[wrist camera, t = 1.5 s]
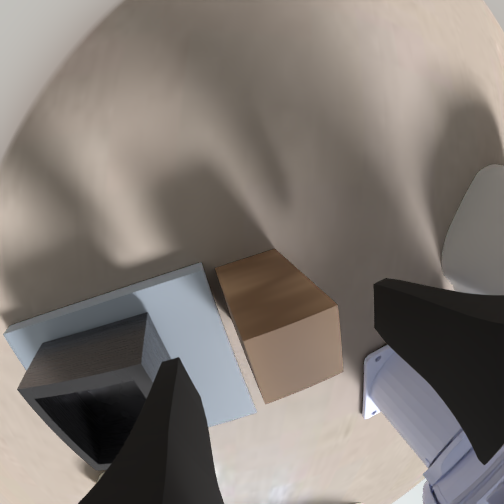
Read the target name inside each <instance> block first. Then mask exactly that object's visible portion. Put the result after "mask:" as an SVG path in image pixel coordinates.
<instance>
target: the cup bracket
mask: <svg viewBox="0 0 504 504" xmlns="http://www.w3.org/2000/svg"><path fill="white" fill-rule="evenodd" d="M170 359H171V357H170V356H169V354H168V352H167V350H166V348H165V346H164V344H163V342H162V340H161V338H160V336H159V334H158V332H157V330H156V328H155V326H154V324H153V322H152V319H151V317H150V315H149V313H148V312H146V313H142V314H139V315H136V316H132V317H129V318H126V319H123V320H119V321H116V322H113V323H109V324H106V325H103V326H99V327H96V328H92V329H89V330H86V331H82V332H79V333H75V334H72V335H68V336H65V337H61V338H58V339H54V340H51V341H47V342H43V343H42V344H41V346H40V348H39V349H38V351H37V353H36V355H35V357H34V358H33V360H32V362H31V364H30V366H29V367H28V369H27V371H26V373H25V375H24V377H23V379H22V381H21V383H20V385H19V387H18V389H17V390H18V391H19V392H20V394H21V395H22V396H23V397H24V399H25V400H26V401H27V402H28V404H29V405H30V406H31V407H32V408H33V410H34V411H35V412H36V413H37V414H38V415H39V416H40V417H41V419H42V420H43V421H44V422H45V423H46V424H47V425H48V426H49V427H50V428H51V429H52V430H53V431H54V432H55V433H56V434H57V435H58V436H59V437H60V438H61V439H62V440H63V441H64V442H65V443H66V444H67V445H68V446H69V447H70V448H71V449H72V450H73V451H74V452H75V453H76V454H78V455H79V456H80V457H81V458H82V459H83V460H84V461H86V462H87V463H88V464H89V465H90V466H91V467H93V468H94V469H95V470H107V469H108V467H109V466H110V465H111V464H112V462H113V461H114V459H115V458H116V456H117V455H118V453H119V451H120V450H121V448H122V447H123V445H124V443H125V441H126V440H127V438H128V436H129V434H130V432H131V430H132V428H133V426H134V424H135V422H136V420H137V418H138V416H139V414H140V412H141V410H142V408H143V405H144V403H145V401H146V399H147V396H148V394H149V392H150V389H151V387H152V384H153V382H154V379H155V377H156V375H157V372H158V370H159V367H160V365H161V363H162V362H163V361H167V360H170Z"/></svg>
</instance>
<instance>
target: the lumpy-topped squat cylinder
mask: <svg viewBox="0 0 504 504" xmlns="http://www.w3.org/2000/svg"><path fill="white" fill-rule="evenodd" d="M441 266H442V271H443V274H444V276H445V277H446V278H447V279H448V280H449V281H450V282H451V284H452V285H453V287H454V290H455V291H457V292H463V293H471V294H482V295H504V166H503V165H497V164H492V165H489V166H486V167H484V168H483V169H481V170H480V171H479V172H478V173H477V174H476V176H475V178H474V179H473V181H472V183H471V185H470V186H469V188H468V190H467V192H466V194H465V196H464V198H463V200H462V202H461V204H460V206H459V208H458V210H457V212H456V214H455V216H454V218H453V220H452V223H451V225H450V227H449V230H448V232H447V235H446V238H445V242H444V246H443V251H442V259H441Z"/></svg>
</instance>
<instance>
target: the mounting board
mask: <svg viewBox="0 0 504 504" xmlns="http://www.w3.org/2000/svg"><path fill="white" fill-rule="evenodd" d="M146 312H148V313H149V315H150V317H151V319H152V322H153V324H154V326H155V328H156V330H157V332H158V334H159V336H160V338H161V340H162V342H163V344H164V346H165V348H166V350H167V352H168V354H169V356H170V357H171V359H174V358H177V357H179V358H180V360H181V362H182V364H183V365H184V367H185V369H186V371H187V373H188V375H189V377H190V379H191V380H192V382H193V384H194V386H195V388H196V389H197V391H198V393H199V395H200V396H201V400H202V404H203V407H204V411H205V415H206V419H207V423H208V427H211V426H214V425H218V424H222V423H225V422H228V421H232V420H235V419H238V418H241V417H244V416H248V415H251V414H254V413H257V411H256V408H255V406H254V403H253V401H252V398H251V396H250V393H249V391H248V388H247V386H246V383H245V381H244V378H243V376H242V373H241V371H240V368H239V365H238V363H237V360H236V358H235V355H234V352H233V350H232V347H231V345H230V342H229V339H228V336H227V334H226V331H225V328H224V326H223V323H222V320H221V317H220V315H219V312H218V309H217V306H216V303H215V301H214V298H213V295H212V292H211V289H210V286H209V283H208V280H207V277H206V274H205V271H204V268H203V265H202V262H200V263H197V264H194V265H191V266H188V267H185V268H182V269H179V270H176V271H172V272H169V273H166V274H163V275H160V276H157V277H154V278H151V279H148V280H145V281H142V282H139V283H136V284H133V285H130V286H127V287H124V288H121V289H118V290H115V291H112V292H109V293H105V294H102V295H99V296H96V297H93V298H90V299H87V300H84V301H81V302H78V303H75V304H72V305H69V306H66V307H63V308H60V309H57V310H54V311H51V312H48V313H45V314H42V315H39V316H37V317H34V318H31V319H28V320H25V321H22V322H19V323H16V324H13V325H10V326H9V328H8V329H7V330H6V331H5V333H4V334H3V335H4V337H5V338H6V340H7V342H8V343H9V345H10V346H11V348H12V350H13V351H14V353H15V354H16V356H17V357H18V359H19V361H20V362H21V363H22V365H23V366H24V368H25V369H26V371H27V369H28V367H29V366H30V364H31V362H32V360H33V358H34V357H35V355H36V353H37V351H38V349H39V348H40V346H41V344H42V343H43V342H47V341H51V340H54V339H58V338H61V337H65V336H68V335H72V334H75V333H79V332H82V331H86V330H89V329H92V328H96V327H99V326H103V325H106V324H109V323H113V322H116V321H119V320H123V319H126V318H129V317H132V316H136V315H139V314H142V313H146Z"/></svg>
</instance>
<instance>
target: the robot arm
mask: <svg viewBox="0 0 504 504" xmlns="http://www.w3.org/2000/svg"><path fill="white" fill-rule="evenodd" d="M374 328H375V329H376V330H377V332H378V333H379V334H380V336H381V337H382V338H383V339H384V341H385V342H386V343H387V344H388V345H386V346H384V347H382V348H380V349H379V350H377V351H375V352H373V353H371V354H369V355H368V356H367V357H366V358H365V361H364V392H363V412H362V416H363V418H364V419H368V418H370V417H372V416H374V415H375V414H377V413H379V412H382V413H383V415H384V416H385V417H386V418H387V419H388V421H389V422H390V423H391V424H392V425H393V427H394V428H395V429H396V430H397V431H398V433H399V434H400V435H401V436H402V437H403V439H404V440H405V441H406V442H407V443H408V445H409V446H410V447H411V448H412V449H413V451H414V452H415V453H416V454H417V455H418V457H419V458H420V459H421V460H422V462H423V463H424V464H425V465H426V466H427V468H428V470H427V471H426V472H425V473H423V476H424V477H425V478H426V479H427V481H426V482H425V484H424V488H423V504H504V295H482V294H471V293H463V292H457V291H450V290H445V289H440V288H435V287H430V286H425V285H420V284H416V283H411V282H406V281H401V280H395V279H388V278H386V279H384V280H381V281H379V282H377V283H375V284H374ZM78 504H224V502H223V499H222V496H221V493H220V490H219V487H218V483H217V478H216V474H215V468H214V462H213V456H212V450H211V443H210V437H209V430H208V423H207V419H206V415H205V411H204V407H203V404H202V400H201V396H200V395H199V393H198V391H197V389H196V388H195V386H194V384H193V382H192V380H191V379H190V377H189V375H188V373H187V371H186V369H185V367H184V365H183V364H182V362H181V360H180V358H179V357H177V358H174V359H170V360H167V361H163V362H162V363H161V365H160V367H159V370H158V372H157V375H156V377H155V379H154V382H153V384H152V387H151V389H150V392H149V394H148V396H147V399H146V401H145V403H144V405H143V408H142V410H141V412H140V414H139V416H138V418H137V420H136V422H135V424H134V426H133V428H132V430H131V432H130V434H129V436H128V438H127V440H126V441H125V443H124V445H123V447H122V448H121V450H120V451H119V453H118V455H117V456H116V458H115V459H114V461H113V462H112V464H111V465H110V466H109V467H108V469H107V470H106V471H105V473H104V474H103V475H102V477H101V478H100V479H99V481H98V482H97V483H96V484H95V486H94V487H93V488H92V489H91V490H90V491H89V492H88V494H87V495H86V496H85V497H84V498H83V499H82V500H81V501H80V502H79V503H78Z"/></svg>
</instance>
